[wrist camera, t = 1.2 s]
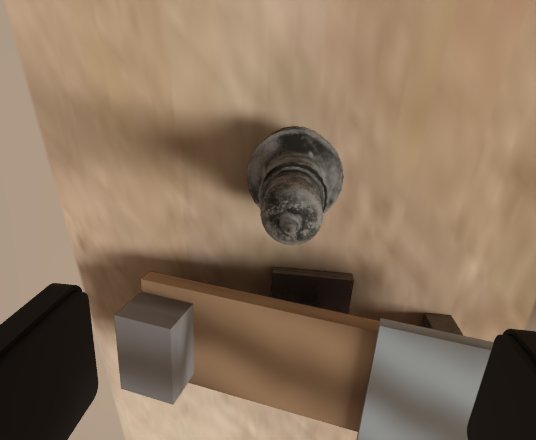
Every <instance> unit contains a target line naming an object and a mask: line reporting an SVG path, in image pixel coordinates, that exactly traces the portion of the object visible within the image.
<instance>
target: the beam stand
mask: <svg viewBox="0 0 536 440" xmlns="http://www.w3.org/2000/svg"><path fill="white" fill-rule="evenodd" d="M353 282H354V279H353V275H352V274H348V273H337V272H326V271H316V270H305V269H294V268H284V267H273V275H272V289H271V298H275V299H280V300H285V301H289V302H294V303H298V304H303V305H308V306H312V307H317V308H321V309H326V310H331V311H335V312H340V313H345V314H348V313H349V307H350V301H351V295H352V288H353ZM422 327H425V328H429V329H434V330H439V331H443V332H448V333H453V334H457V335H462V336H463V334H462V332H461V331H460V329H459V328H458V326H457V324H456V323H455V321H454V319H453V318H452V316H451V315H441V314H430V313H425V314H424V319H423V323H422Z"/></svg>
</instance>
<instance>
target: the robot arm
mask: <svg viewBox="0 0 536 440" xmlns="http://www.w3.org/2000/svg"><path fill="white" fill-rule="evenodd" d="M97 389H98V376H97V367H96V359H95V350H94V342H93V333H92V324H91V315H90V307H89V299H88V295H87V294H86V293H85V292H82V289H81V288H80V287H79V286H77V285H68V284H58V283H53V284H51V285H49V286H47V287H46V288H45V289H44V290H43V291H41V292H40V293H39V294H38V295H36V296H35V297H34V298H33V299H32V300H30V301H29V302H28V303H27V304H26V305H24V306H23V307H22V308H20V309H19V310H18V311H17V312H16V313H14V314H13V315H12V316H11V317H9V318H8V319H7V320H6V321H4V322H3V323H2V324H1V325H0V440H67V439H68V438H69V436H70V435H71V433H72V432H73V430H74V429H75V427H76V425H77V424H78V423H79V421H80V420H81V418H82V416H83V415H84V413H85V412H86V410H87V409H88V407H89V406H90V404H91V403H92V401H93V400H94V398H95V396H96V393H97ZM467 437H468V440H536V332H535V331H526V330H516V329H508V330H506V331H505V332H504V333H503V335H498V336H497V337H496V338H495V340H494V343H493V346H492V350H491V353H490V356H489V359H488V362H487V365H486V368H485V371H484V375H483V378H482V381H481V384H480V387H479V390H478V393H477V396H476V399H475V403H474V406H473V409H472V412H471V415H470V418H469V421H468V425H467Z"/></svg>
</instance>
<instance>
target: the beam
mask: <svg viewBox="0 0 536 440" xmlns="http://www.w3.org/2000/svg"><path fill="white" fill-rule="evenodd" d="M141 288H142V292H141V293H139V294H138V295H137V296H136V297H135V298H134V299H132V300H131V301H130V302H129V303H128V304H126V305H125V306H124V307H123V308H122V309H121V310H119V311H118V312H117V313H116V314H115V315H114V319H115V330H116V340H117V350H118V361H119V371H120V381H121V389H124V390H128V391H131V392H134V393H137V394H140V395H144V396H147V397H150V398H153V399H157V400H160V401H163V402H166V403H170V404H174V403H175V401H176V400H177V398H178V397H179V395H180V394H181V392H182V391H183V389H184V388H185V386H186V385H187V383H192V384H195V385H198V386H202V387H205V388H209V389H212V390H216V391H219V392H222V393H226V394H229V395H233V396H236V397H240V398H243V399H247V400H250V401H253V402H257V403H260V404H264V405H267V406H271V407H274V408H277V409H281V410H284V411H288V412H291V413H295V414H298V415H302V416H305V417H308V418H312V419H315V420H319V421H322V422H326V423H329V424H333V425H336V426H339V427H343V428H346V429H350V430H353V431H357V432H358V435H357V440H468V437H467V425H468V421H469V418H470V415H471V412H472V409H473V406H474V403H475V399H476V396H477V393H478V390H479V387H480V384H481V381H482V378H483V375H484V371H485V368H486V365H487V362H488V359H489V356H490V353H491V350H492V346H493V343H494V342H490V341H485V340H480V339H476V338H471V337H466V336H462V335H457V334H453V333H448V332H443V331H439V330H434V329H429V328H425V327H420V326H415V325H411V324H406V323H401V322H397V321H392V320H387V319H383V318H380V321H377V320H372V319H368V318H363V317H358V316H354V315H349V314H345V313H340V312H335V311H331V310H326V309H321V308H317V307H312V306H308V305H303V304H298V303H294V302H289V301H285V300H280V299H275V298H271V297H266V296H262V295H257V294H252V293H248V292H243V291H239V290H234V289H229V288H225V287H220V286H216V285H211V284H206V283H202V282H197V281H192V280H188V279H183V278H179V277H174V276H169V275H165V274H160V273H156V272H149V273H148V274H147V275H145V276H144V277H143V278H142V279H141Z"/></svg>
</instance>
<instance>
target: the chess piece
mask: <svg viewBox="0 0 536 440" xmlns="http://www.w3.org/2000/svg"><path fill="white" fill-rule="evenodd" d="M247 183H248V188H249V192H250V194H251V196H252V198H253V200H254V202H255V203H256V204H257V205H258V207H259V208H260V209H261V220H262V224H263V226H264V228H265V230H266V232H267V233H268V234H269V235H270V236H271V237H272V238H273V239H275V240H276V241H278V242H280V243H283V244H287V245H299V244H302V243H305V242H307V241H309V240H310V239H312V238H313V237H314V236H315V235H316V233H317V232H318V231H319V229H320V226H321V224H322V219H323V214H324V213H325V212H327V211H328V210H329V209H330V208H331V206H332V205H333V204H334V203H335V202H336V200H337V198H338V196H339V194H340V192H341V189H342V183H343V168H342V163H341V161H340V158H339V156H338V153H337V152H336V150H335V149H334V148H333V147H332V145H331V144H330V143H329V142H328V141H327V140H325V139H324V138H323V137H322V136H320V135H319V134H318V133H316V132H315V131H313V130H310V129H308V128H305V127H289V128H284V129H282V130H280V131H277V132H275V133H274V134H273V135H271V136H269V137H267V138H266V139H265V140H264V141H263V142H261V143H260V144H259V145H258V147H257V148H256V150H255V151H254V153H253V154H252V156H251V158H250V161H249V164H248V167H247Z"/></svg>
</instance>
